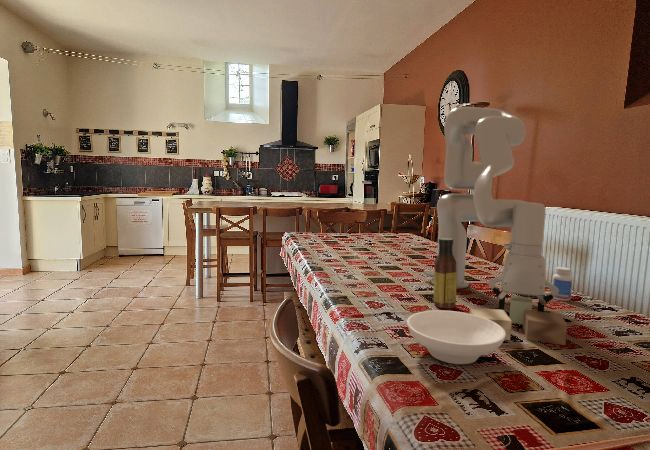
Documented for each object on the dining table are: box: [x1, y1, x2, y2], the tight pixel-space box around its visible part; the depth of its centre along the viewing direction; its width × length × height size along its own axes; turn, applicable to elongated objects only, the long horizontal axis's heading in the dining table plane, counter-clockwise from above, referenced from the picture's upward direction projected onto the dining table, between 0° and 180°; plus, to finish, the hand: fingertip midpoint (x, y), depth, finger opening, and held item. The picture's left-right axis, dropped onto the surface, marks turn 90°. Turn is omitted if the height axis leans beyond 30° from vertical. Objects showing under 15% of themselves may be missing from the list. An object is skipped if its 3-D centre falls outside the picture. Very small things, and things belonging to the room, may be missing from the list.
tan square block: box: [522, 310, 568, 346], centre depth 99 cm, size 8×8×5 cm
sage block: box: [508, 295, 533, 325], centre depth 109 cm, size 5×5×6 cm
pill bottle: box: [551, 266, 573, 302], centre depth 130 cm, size 6×5×10 cm
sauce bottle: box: [433, 238, 457, 310], centre depth 119 cm, size 7×6×20 cm
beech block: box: [468, 306, 513, 341], centre depth 100 cm, size 8×8×5 cm
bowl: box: [406, 309, 506, 365], centre depth 86 cm, size 20×20×7 cm
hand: (520, 315), depth 109 cm, fingers open, 8 cm apart
